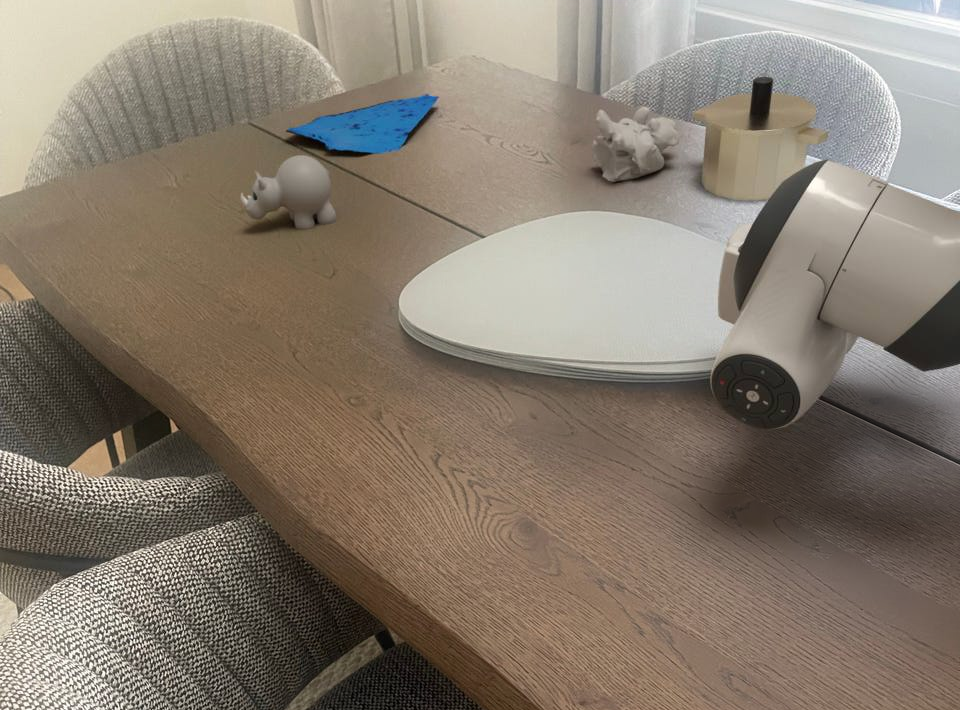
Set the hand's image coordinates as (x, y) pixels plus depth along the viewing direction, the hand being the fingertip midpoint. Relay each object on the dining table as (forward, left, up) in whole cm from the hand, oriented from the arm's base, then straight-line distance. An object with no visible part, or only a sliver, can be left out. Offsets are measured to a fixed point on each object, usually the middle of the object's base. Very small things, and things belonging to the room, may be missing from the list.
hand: (864, 234), depth 89 cm
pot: (-18, -39, -12) cm, 44 cm away
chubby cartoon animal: (+37, -65, -12) cm, 75 cm away
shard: (+16, -93, -12) cm, 95 cm away
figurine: (-8, -51, -12) cm, 53 cm away
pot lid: (-18, -39, -3) cm, 43 cm away
